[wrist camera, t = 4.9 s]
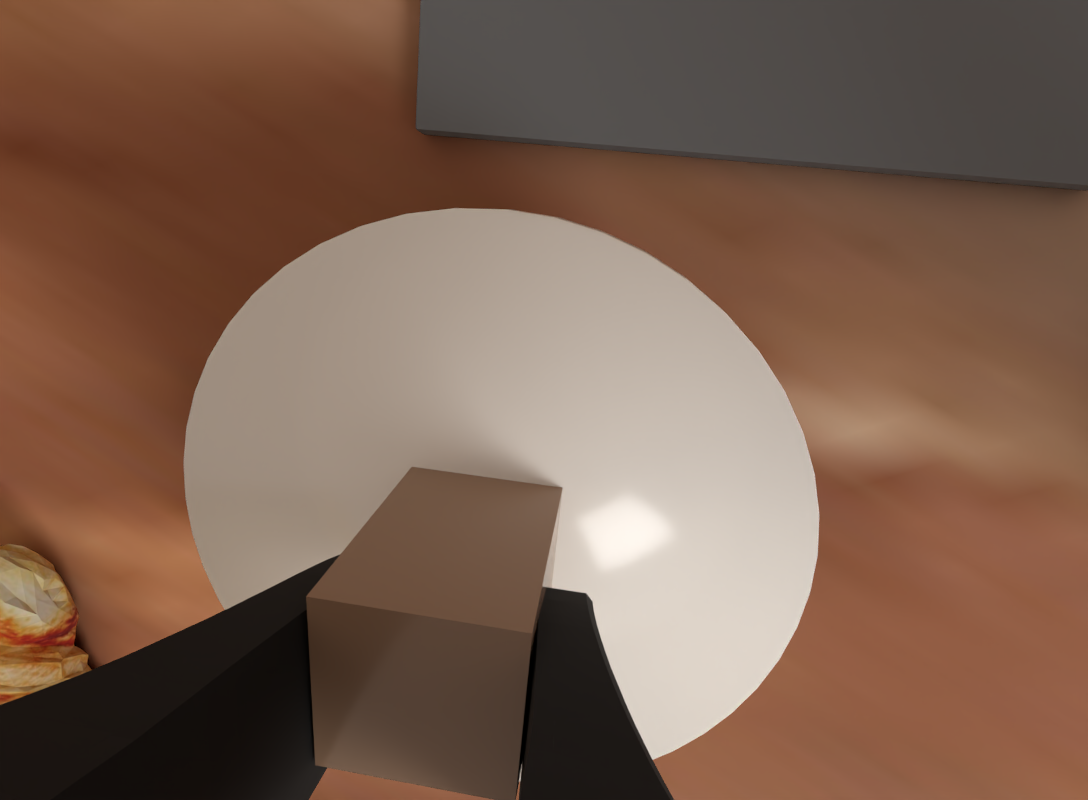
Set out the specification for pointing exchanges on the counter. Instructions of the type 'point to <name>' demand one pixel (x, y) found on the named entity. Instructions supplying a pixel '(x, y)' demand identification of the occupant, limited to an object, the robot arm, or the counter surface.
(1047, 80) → the mat
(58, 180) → the counter surface
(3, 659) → the croissant
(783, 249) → the counter surface
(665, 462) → the lid
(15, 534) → the counter surface
